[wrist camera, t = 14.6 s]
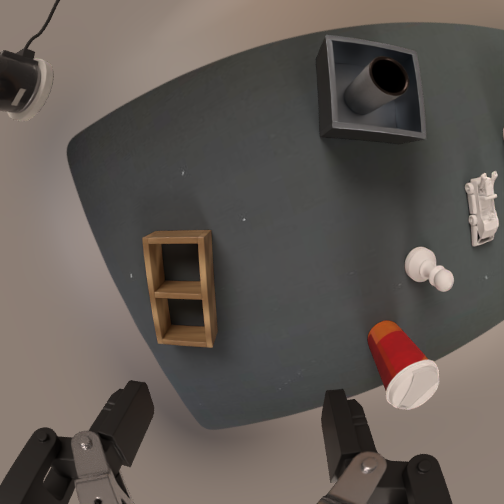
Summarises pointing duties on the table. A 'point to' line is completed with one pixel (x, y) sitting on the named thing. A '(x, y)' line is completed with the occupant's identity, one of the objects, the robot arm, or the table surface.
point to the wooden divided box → (181, 288)
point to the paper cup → (402, 366)
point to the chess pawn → (427, 269)
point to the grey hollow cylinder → (376, 85)
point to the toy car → (482, 208)
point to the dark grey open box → (380, 120)
